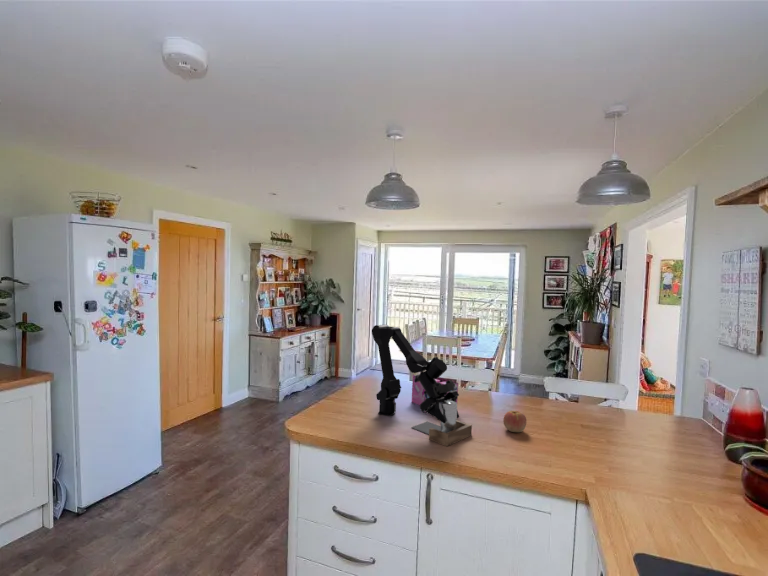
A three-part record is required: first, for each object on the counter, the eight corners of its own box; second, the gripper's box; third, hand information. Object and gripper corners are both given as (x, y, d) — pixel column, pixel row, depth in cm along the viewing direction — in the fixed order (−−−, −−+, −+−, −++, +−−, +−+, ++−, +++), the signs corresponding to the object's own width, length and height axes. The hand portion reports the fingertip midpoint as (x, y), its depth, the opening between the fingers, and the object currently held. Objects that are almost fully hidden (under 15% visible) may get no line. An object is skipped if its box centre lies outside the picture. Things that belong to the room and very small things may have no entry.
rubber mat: (411, 428, 161) (411, 427, 161) (427, 422, 168) (427, 421, 168) (430, 435, 154) (430, 434, 154) (446, 429, 161) (446, 428, 161)
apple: (527, 436, 157) (528, 416, 157) (503, 433, 159) (504, 413, 159) (524, 428, 166) (525, 409, 165) (501, 425, 167) (502, 407, 167)
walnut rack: (428, 439, 151) (429, 428, 151) (453, 428, 162) (454, 419, 162) (446, 446, 145) (447, 435, 145) (471, 435, 156) (471, 425, 156)
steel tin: (439, 438, 152) (440, 404, 152) (441, 432, 158) (442, 399, 158) (455, 440, 151) (456, 406, 150) (456, 434, 157) (458, 401, 156)
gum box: (408, 401, 196) (409, 374, 196) (420, 398, 201) (421, 371, 201) (446, 415, 178) (447, 385, 178) (457, 412, 183) (459, 382, 183)
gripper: (426, 377, 150) (449, 414, 142) (456, 370, 163) (478, 404, 156) (410, 393, 156) (431, 430, 148) (439, 385, 169) (460, 418, 161)
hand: (451, 420), depth 153 cm, fingers open, 8 cm apart
